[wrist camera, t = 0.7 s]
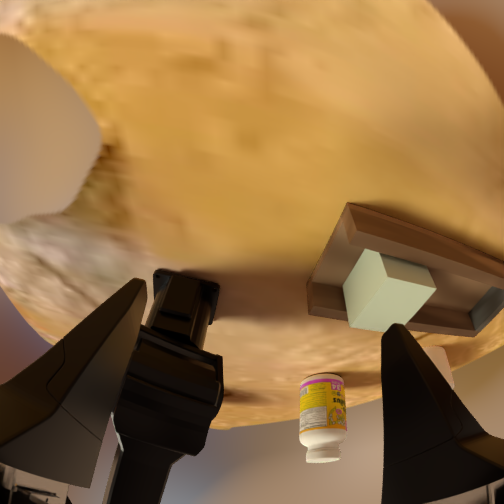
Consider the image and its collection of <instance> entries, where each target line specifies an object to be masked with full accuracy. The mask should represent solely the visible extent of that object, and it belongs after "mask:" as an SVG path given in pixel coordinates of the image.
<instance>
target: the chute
mask: <svg viewBox="0 0 504 504" xmlns="http://www.w3.org/2000/svg"><path fill="white" fill-rule="evenodd" d="M365 249H368V250H372V251H376V252H379V253H383V254H386V255H390V256H394V257H397V258H401V259H404V260H408V261H411V262H415V263H418V264H422V265H425V266H427V268H428V270H429V273H430V275H431V277H432V279H433V281H434V284H435V286H436V288H437V289H436V290H435V291H434V293H433V294H432V295H431V296H430V297H429V299H428V300H427V301H426V302H425V303H424V304H423V306H422V307H421V308H420V309H419V310H418V311H417V312H416V313H415V315H414V316H413V317H412V318H411V319H410V320H409V321H408V322H407V323H406V324H405V325H404V326H405V327H406V328H407V330H412V331H420V332H428V333H436V334H445V335H455V336H465V337H475V336H476V335H477V334H478V333H479V332H480V331H481V330H482V329H483V328H484V327H485V326H486V325H487V324H488V323H489V322H490V321H491V320H492V319H493V318H494V317H495V316H496V315H497V314H498V313H499V312H500V311H501V310H502V309H503V308H504V261H501V260H499V259H497V258H495V257H493V256H490V255H488V254H486V253H484V252H481V251H479V250H477V249H474V248H472V247H469V246H467V245H465V244H462V243H460V242H457V241H455V240H452V239H450V238H447V237H445V236H442V235H440V234H437V233H434V232H432V231H429V230H426V229H424V228H421V227H418V226H416V225H413V224H410V223H407V222H404V221H402V220H399V219H396V218H393V217H390V216H387V215H384V214H381V213H378V212H375V211H372V210H369V209H366V208H363V207H360V206H357V205H353V204H350V203H347V204H346V206H345V208H344V210H343V212H342V214H341V216H340V219H339V221H338V223H337V225H336V227H335V229H334V231H333V233H332V235H331V237H330V239H329V241H328V243H327V245H326V247H325V249H324V251H323V253H322V255H321V257H320V259H319V261H318V263H317V265H316V267H315V269H314V271H313V273H312V275H311V277H310V278H309V280H308V282H307V299H308V314H309V315H314V316H320V317H326V318H332V319H338V320H344V321H348V315H347V309H346V303H345V297H344V292H343V286H342V285H343V284H344V282H345V281H346V279H347V278H348V276H349V274H350V273H351V271H352V270H353V268H354V266H355V265H356V263H357V261H358V260H359V258H360V256H361V255H362V253H363V251H364V250H365Z"/></svg>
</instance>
